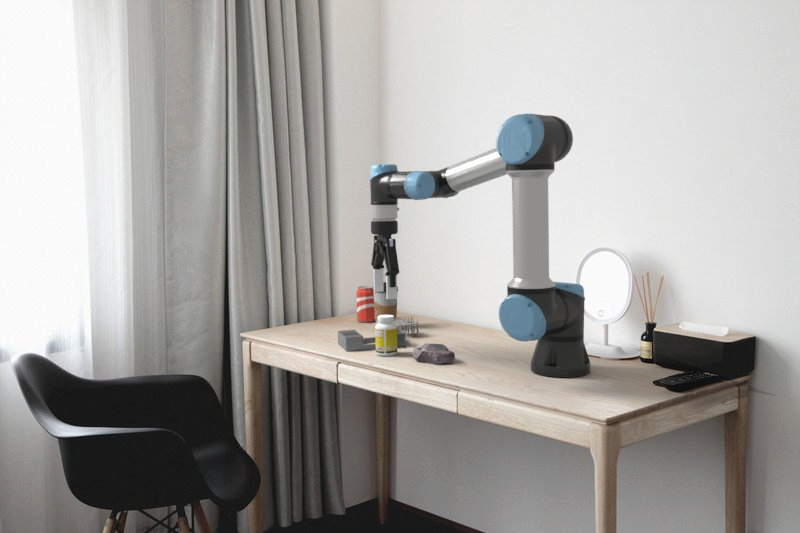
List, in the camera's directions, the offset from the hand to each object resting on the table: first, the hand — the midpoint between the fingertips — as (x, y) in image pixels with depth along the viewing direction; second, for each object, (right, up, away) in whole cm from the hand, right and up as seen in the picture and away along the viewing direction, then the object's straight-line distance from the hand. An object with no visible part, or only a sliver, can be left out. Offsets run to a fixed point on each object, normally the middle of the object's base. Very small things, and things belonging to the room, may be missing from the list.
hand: (385, 295), depth 234 cm
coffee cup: (0, -13, +39) cm, 41 cm away
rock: (+13, -18, -7) cm, 24 cm away
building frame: (+6, -14, +27) cm, 32 cm away
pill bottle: (0, -17, +2) cm, 17 cm away
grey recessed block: (-4, -15, +14) cm, 21 cm away
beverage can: (-8, -11, +52) cm, 54 cm away
